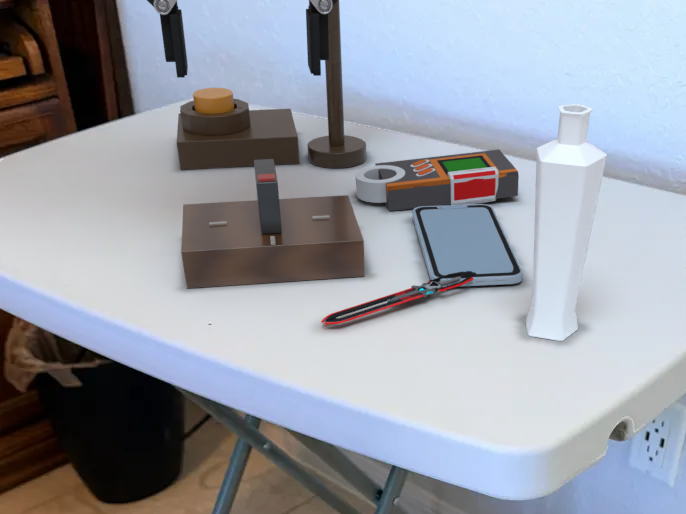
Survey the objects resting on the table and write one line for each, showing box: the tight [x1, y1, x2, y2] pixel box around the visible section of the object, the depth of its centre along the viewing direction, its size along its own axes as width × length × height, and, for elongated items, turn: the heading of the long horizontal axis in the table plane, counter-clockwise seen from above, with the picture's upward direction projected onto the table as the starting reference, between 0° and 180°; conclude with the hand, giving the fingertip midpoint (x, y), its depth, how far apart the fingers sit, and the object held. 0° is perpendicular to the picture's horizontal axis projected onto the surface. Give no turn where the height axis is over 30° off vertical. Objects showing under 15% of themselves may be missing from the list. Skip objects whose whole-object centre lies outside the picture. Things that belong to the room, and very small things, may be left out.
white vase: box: [525, 103, 608, 342], centre depth 62 cm, size 5×4×15 cm
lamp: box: [307, 0, 367, 169], centre depth 88 cm, size 8×8×26 cm
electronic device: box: [354, 149, 520, 212], centre depth 87 cm, size 7×3×15 cm
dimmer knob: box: [253, 159, 282, 234], centre depth 74 cm, size 6×2×4 cm, turn 9°
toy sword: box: [320, 271, 476, 325], centre depth 70 cm, size 2×14×1 cm, turn 124°
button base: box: [176, 98, 301, 171], centre depth 96 cm, size 12×10×4 cm
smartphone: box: [412, 203, 524, 288], centre depth 78 cm, size 7×1×15 cm
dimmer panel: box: [180, 194, 366, 289], centre depth 76 cm, size 14×10×3 cm
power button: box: [192, 87, 235, 114], centre depth 94 cm, size 4×4×2 cm
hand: (249, 71), depth 68 cm, fingers open, 9 cm apart
